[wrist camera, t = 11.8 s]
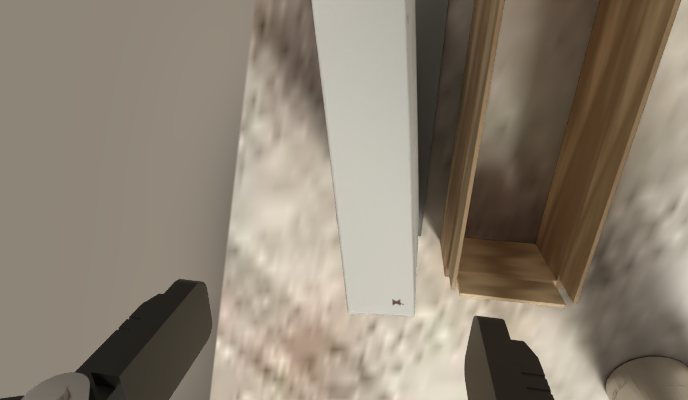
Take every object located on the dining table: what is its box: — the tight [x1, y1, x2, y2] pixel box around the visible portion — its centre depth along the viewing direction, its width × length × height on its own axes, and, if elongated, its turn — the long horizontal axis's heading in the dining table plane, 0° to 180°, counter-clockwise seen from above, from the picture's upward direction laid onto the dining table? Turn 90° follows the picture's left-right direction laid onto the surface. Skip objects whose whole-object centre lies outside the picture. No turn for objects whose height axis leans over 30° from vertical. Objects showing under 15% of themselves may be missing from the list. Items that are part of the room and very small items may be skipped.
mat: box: [415, 0, 449, 236], centre depth 37 cm, size 9×25×1 cm, turn 179°
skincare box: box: [311, 0, 419, 317], centre depth 30 cm, size 21×6×16 cm, turn 6°
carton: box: [440, 0, 681, 308], centre depth 31 cm, size 11×27×10 cm, turn 179°
